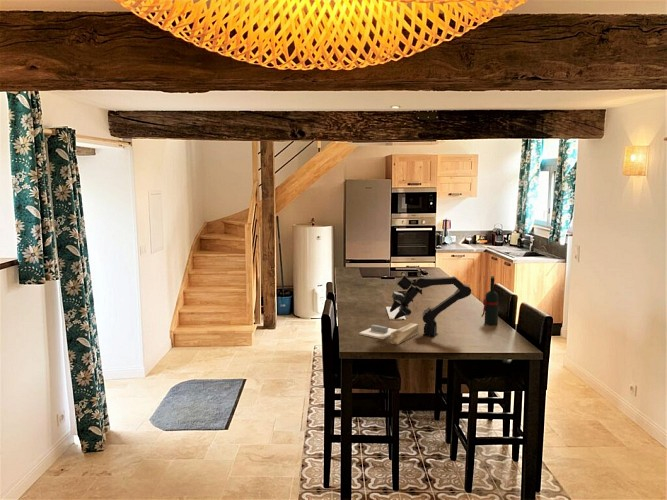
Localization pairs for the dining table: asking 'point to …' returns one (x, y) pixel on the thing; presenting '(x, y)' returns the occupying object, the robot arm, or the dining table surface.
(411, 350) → the dining table surface
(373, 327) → the ridge stand
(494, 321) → the wine bottle
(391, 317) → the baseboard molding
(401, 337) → the birch bar
